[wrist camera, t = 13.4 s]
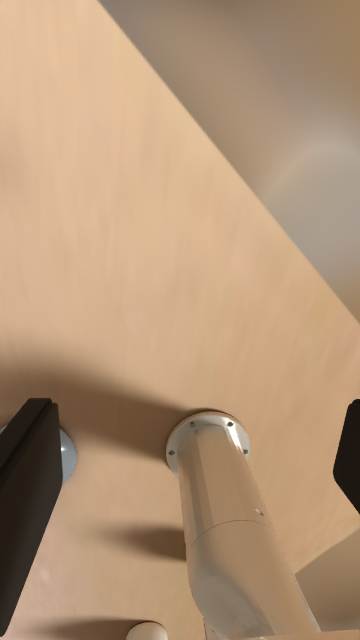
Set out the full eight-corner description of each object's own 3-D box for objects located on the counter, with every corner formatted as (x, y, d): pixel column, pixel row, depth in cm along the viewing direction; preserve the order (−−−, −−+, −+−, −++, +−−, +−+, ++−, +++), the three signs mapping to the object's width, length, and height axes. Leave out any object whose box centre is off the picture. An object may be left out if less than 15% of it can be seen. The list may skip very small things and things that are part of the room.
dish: (94, 463, 42) (92, 470, 41) (25, 497, 43) (21, 505, 42) (47, 401, 39) (43, 406, 38) (-27, 439, 40) (-33, 445, 39)
